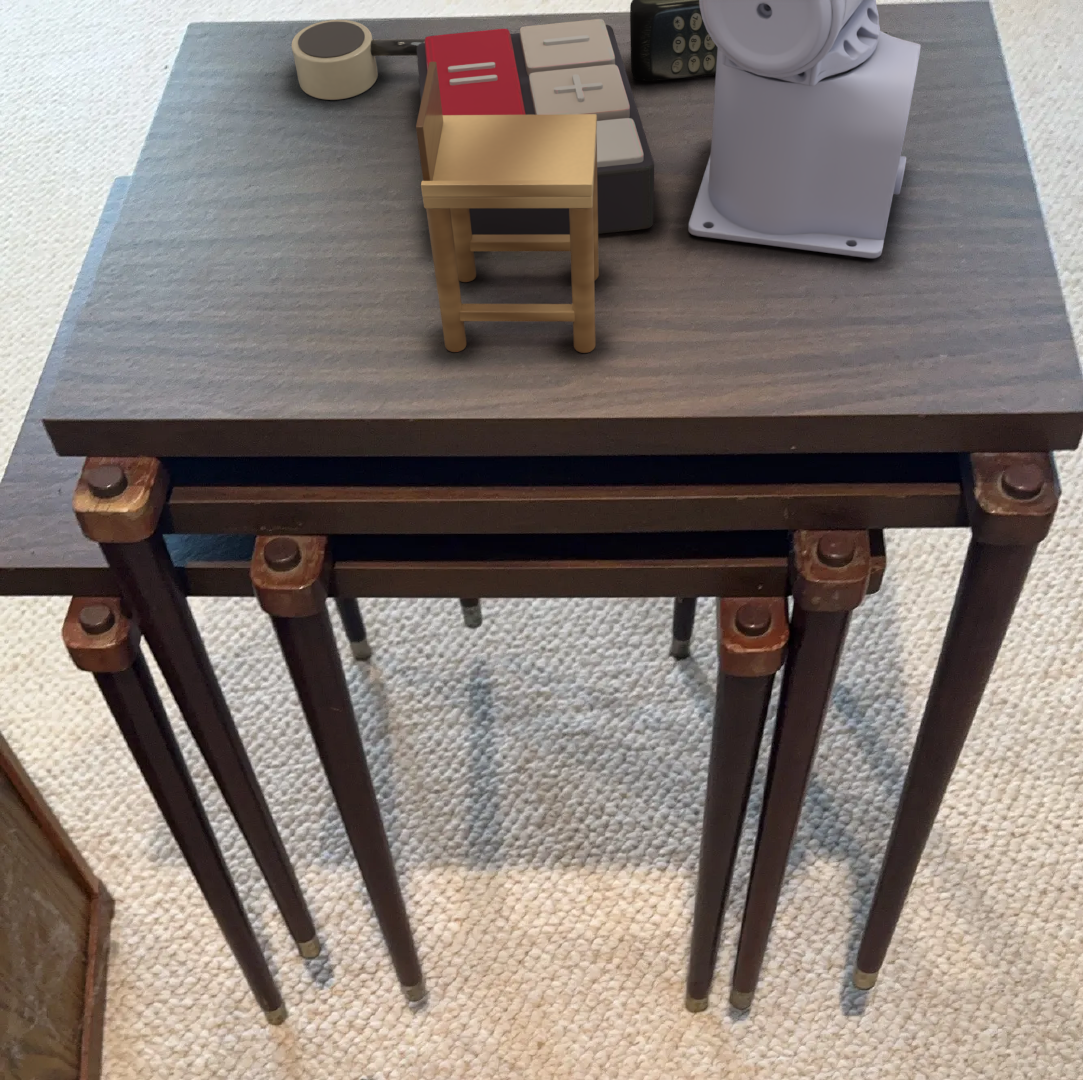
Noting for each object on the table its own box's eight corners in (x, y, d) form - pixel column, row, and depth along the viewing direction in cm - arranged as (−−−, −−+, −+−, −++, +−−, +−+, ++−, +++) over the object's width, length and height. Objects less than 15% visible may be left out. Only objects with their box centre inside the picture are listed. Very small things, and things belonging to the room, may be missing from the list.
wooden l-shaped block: (597, 125, 57) (596, 52, 54) (592, 208, 53) (591, 134, 50) (439, 126, 57) (430, 53, 54) (424, 209, 53) (413, 135, 51)
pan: (292, 100, 73) (284, 60, 72) (306, 57, 76) (298, 18, 74) (431, 99, 73) (427, 59, 71) (440, 56, 76) (436, 16, 74)
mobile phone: (632, 10, 69) (909, -22, 69) (624, -18, 71) (894, -49, 71) (633, 93, 73) (896, 62, 73) (626, 65, 75) (882, 35, 75)
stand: (599, 269, 63) (597, 125, 57) (595, 353, 59) (592, 208, 53) (457, 269, 63) (439, 126, 57) (444, 352, 59) (424, 209, 53)
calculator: (611, 8, 71) (656, 152, 61) (612, 81, 74) (654, 229, 64) (413, 28, 71) (426, 176, 61) (423, 100, 74) (436, 252, 64)
